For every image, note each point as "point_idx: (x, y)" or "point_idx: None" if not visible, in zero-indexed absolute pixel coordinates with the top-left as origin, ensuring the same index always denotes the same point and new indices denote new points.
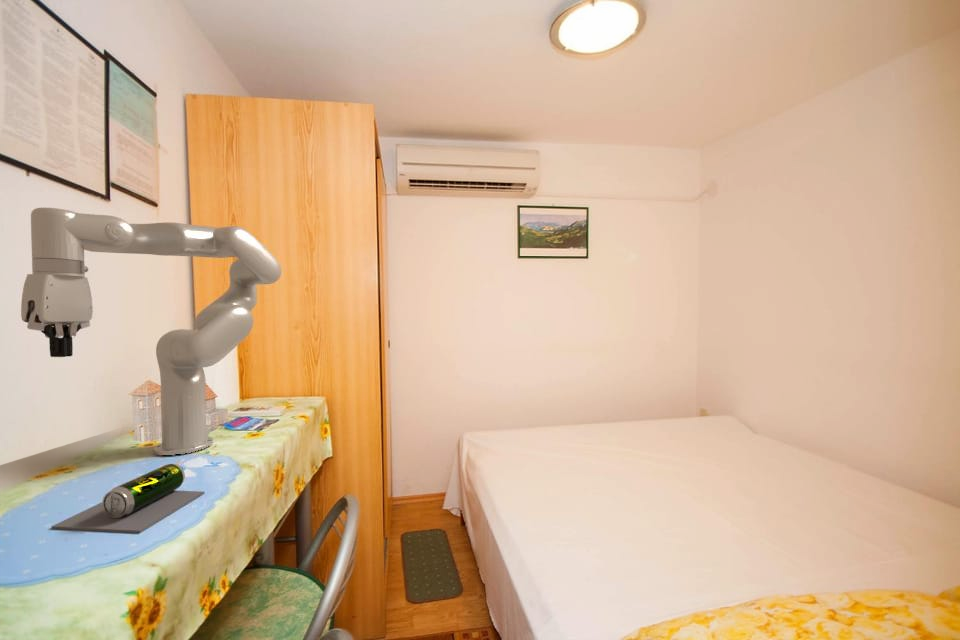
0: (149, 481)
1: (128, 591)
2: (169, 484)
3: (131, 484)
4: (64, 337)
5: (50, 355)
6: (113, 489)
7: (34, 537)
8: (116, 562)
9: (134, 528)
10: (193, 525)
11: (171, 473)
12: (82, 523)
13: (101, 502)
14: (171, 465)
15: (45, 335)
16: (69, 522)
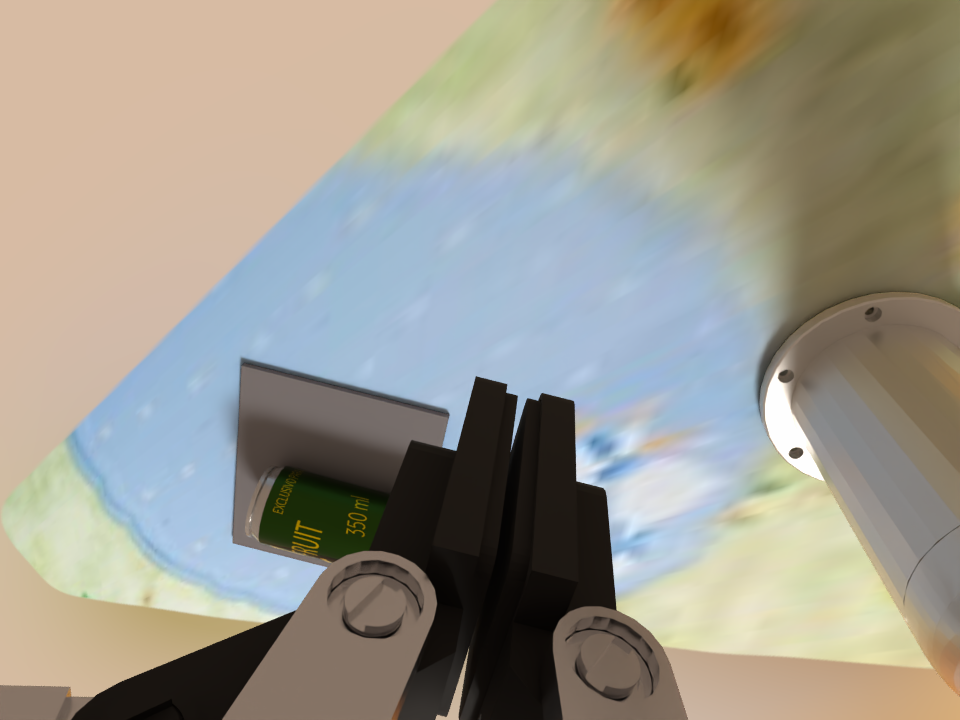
0: (316, 558)
1: (87, 596)
2: None
3: (277, 543)
4: (491, 692)
5: (478, 377)
6: (257, 514)
7: (208, 354)
8: (146, 548)
9: (240, 529)
10: (266, 609)
11: None
12: (257, 422)
13: (362, 396)
14: None
15: (315, 585)
16: (260, 391)
